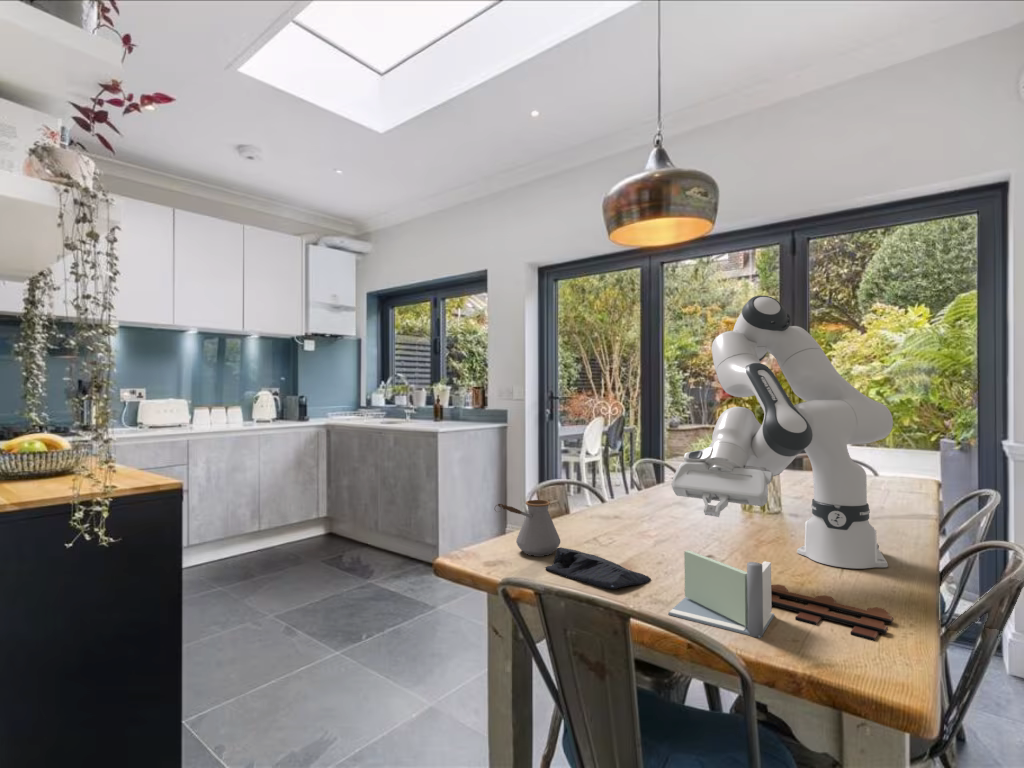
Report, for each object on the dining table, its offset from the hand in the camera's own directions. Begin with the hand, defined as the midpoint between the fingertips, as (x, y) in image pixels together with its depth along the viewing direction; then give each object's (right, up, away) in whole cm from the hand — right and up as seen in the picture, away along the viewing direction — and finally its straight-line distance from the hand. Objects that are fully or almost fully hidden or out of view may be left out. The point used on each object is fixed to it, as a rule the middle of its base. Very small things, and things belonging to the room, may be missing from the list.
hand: (711, 514), depth 117 cm
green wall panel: (-5, -14, -16) cm, 22 cm away
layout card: (-4, -15, -16) cm, 22 cm away
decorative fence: (+15, -16, -14) cm, 26 cm away
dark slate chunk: (-24, -16, +7) cm, 29 cm away
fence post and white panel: (+1, -15, -21) cm, 25 cm away
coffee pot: (-39, -16, +20) cm, 47 cm away
